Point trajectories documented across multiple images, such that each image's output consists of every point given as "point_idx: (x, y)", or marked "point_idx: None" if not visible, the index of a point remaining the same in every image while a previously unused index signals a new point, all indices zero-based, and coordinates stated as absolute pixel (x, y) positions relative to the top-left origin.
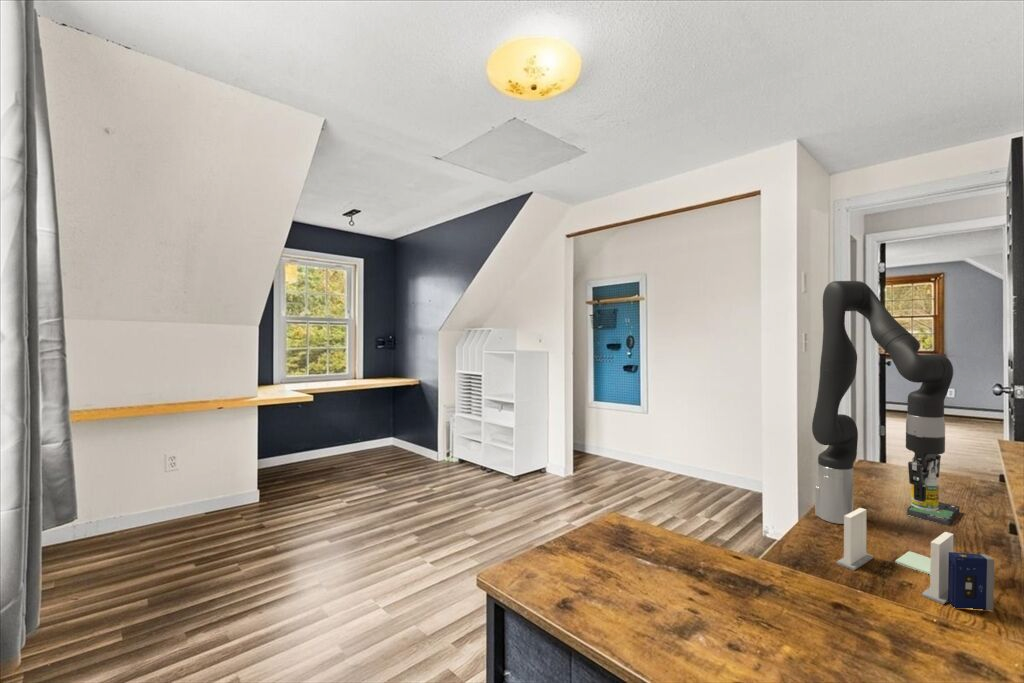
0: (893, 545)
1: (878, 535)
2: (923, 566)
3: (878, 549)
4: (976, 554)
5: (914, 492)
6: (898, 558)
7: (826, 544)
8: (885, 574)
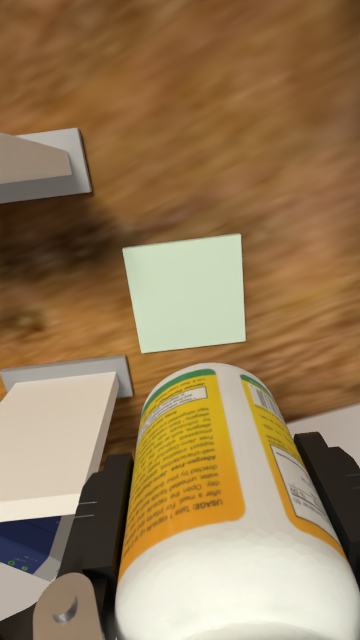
0: (262, 172)
1: (315, 85)
2: (162, 308)
3: (178, 162)
4: (35, 556)
5: (97, 501)
6: (149, 245)
7: (23, 10)
8: (22, 271)
